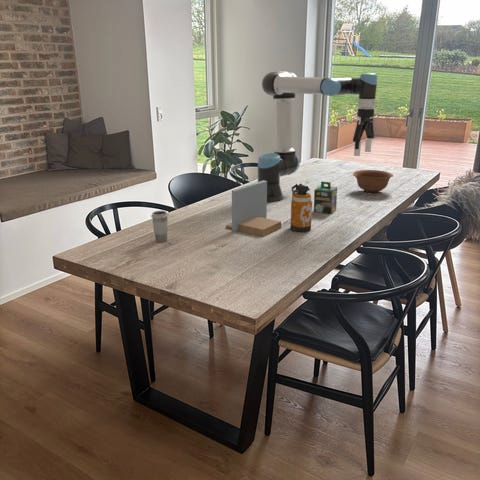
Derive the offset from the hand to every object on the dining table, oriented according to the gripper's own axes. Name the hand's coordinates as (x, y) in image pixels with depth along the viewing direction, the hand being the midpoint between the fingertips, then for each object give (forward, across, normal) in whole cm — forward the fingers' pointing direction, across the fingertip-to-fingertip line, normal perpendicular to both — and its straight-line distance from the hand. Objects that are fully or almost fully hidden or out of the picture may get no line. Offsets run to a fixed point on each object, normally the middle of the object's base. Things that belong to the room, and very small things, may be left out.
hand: (362, 153), depth 235 cm
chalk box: (+28, -12, +12) cm, 33 cm away
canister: (+28, -44, +9) cm, 53 cm away
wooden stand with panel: (+28, -52, +26) cm, 64 cm away
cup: (+28, -90, +48) cm, 106 cm away
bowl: (+28, +37, +7) cm, 47 cm away
